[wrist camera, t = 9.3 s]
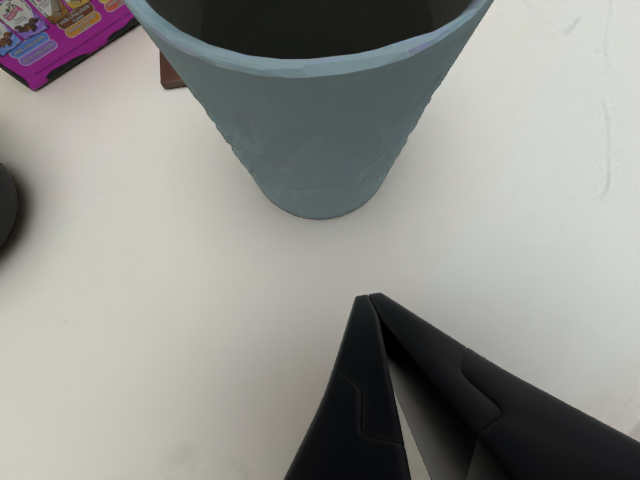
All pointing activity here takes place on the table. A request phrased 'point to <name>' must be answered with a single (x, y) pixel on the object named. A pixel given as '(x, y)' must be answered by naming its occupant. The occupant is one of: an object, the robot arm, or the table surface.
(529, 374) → the table surface
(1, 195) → the mug
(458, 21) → the blue cup
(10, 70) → the candy bar box
